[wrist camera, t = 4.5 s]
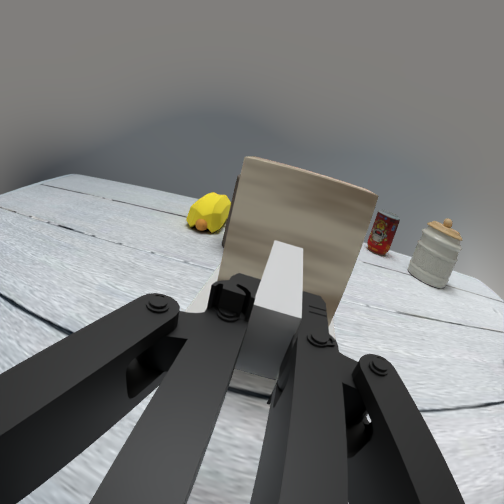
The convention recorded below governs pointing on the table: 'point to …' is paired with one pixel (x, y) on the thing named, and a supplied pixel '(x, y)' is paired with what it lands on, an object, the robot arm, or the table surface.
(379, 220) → the soda can
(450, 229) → the jar
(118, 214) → the table surface
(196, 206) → the hot dog
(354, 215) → the birch board
